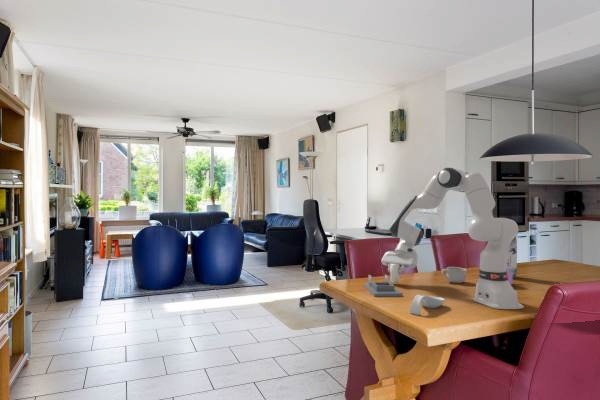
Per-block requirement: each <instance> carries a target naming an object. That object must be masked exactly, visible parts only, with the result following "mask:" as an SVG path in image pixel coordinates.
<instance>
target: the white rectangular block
mask: <svg viewBox="0 0 600 400" xmlns="http://www.w3.org/2000/svg"><path fill="white" fill-rule="evenodd" d="M398 269H400V267H399V264H390V272H389V274H390V277H389V278H390V280H389V282H390V283H391V284H399V283H400V273H398Z"/></svg>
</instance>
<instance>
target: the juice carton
mask: <svg viewBox="0 0 600 400" xmlns="http://www.w3.org/2000/svg"><path fill="white" fill-rule="evenodd" d="M517 258H518V240H517V236H516V237H515V238H514V239H513V240H512V241H511V243H510V245H509V248H508V251H507V255H506V268H507V269H508V270H509V272H510V274H511V276H512V279H513V280H514V279H516V278H517V271H518V267H517V266H518V259H517Z"/></svg>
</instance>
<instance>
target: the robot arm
mask: <svg viewBox="0 0 600 400" xmlns="http://www.w3.org/2000/svg"><path fill="white" fill-rule="evenodd" d="M449 191H452V192H453V191H454V192H460V193H465V196H466V198H467V201H468V204H469V206H470V209H471V220H470V221H469V223H468V226H467V234H468V236H469V237H470V238H471V240H474V241H477V242H487V245H486V246H485V247H484V249H483V250H482V251H481V252H480V253H479V254H480V255H479V270H478V277H479V279H478V280H477V282H475V283H476V285H475V295H474V296H475V297H472V301H473V302H475V303H479V304H482V305H484V306H487V307H489V308H492V309H497V310H520V309H524V308H525V307H524V305H523V304H521V303H520V302H519V301H518V291H517V290H515V289H514V287H513V286H512V284H511V285H510V283H509V282H508V278H509V277H508V276H509V275H508V274H507V272H506V255H507V251H508V248H509V245H510V243H511V241H512V240H513V239H514V238H515V237H516V238H517V236H518V234H519V225H518V224H517V222H516V221H515V220H513V219H510V218H507V217H494V215H493V209H495V207H496V201H495V199H494V196H493V193H492V190H491V189H490V187H489V185H488V183H487V181H486V179H485V178H484V177H483V175H482V174H480V173H479V172H470V173H469V172H466V171H464V170H461V169H458V168H453V167H444V168H441V170H440V171H439V172H438V173H437V174H435V175H433V176H432V178H431V179H430V180H429V181H428V183H427V185H426V186H425V188H424V190H423V191H422V192H421V193H420V194H419V195H415V196H413V197H412V198H411V199H410V200H409V202H408V203H407V204H406V205H405V206H404V208H403V209H402V210H401V212H400V213H399V215H398V216H397V217H396V218H394V220H393V221H392V222H391V223H390V225H389V228H388V229H389V232H390V234H391V235H392V236H394V237H396V238H399V242H398V243H397V245H396V247H395V249H394V251H393V250H388V251H385V253H384V254H383V256H382V258H381V260H380V261H381V263H382V265H383V266H387V267H388V268H387V272H388V273H390V264H399V269H398V273H399V274H402V272H403V271H404V270H405V269H414V268H416V266H417V264H418V259H419V255H418V253H417V252H416V250H415V249H413V248H414V247H416V246H419V244H420V243H421V241H422V239H423V236H424V233H423V230H422V229H421V228H419V227H417V226H415V225H414V224H413V225H412V224H411V223H408V222H406V221H405V220H406V218H407V217H408V215H410V213H411V212H412V211H413V210H415V209H418V210H419V209H420V210H421V209H423V210H433V209H436V208H438V207H439V206H440V205H441V204H442V202H443V200H444V198H445V196H446V194H447V193H448V192H449Z"/></svg>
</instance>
